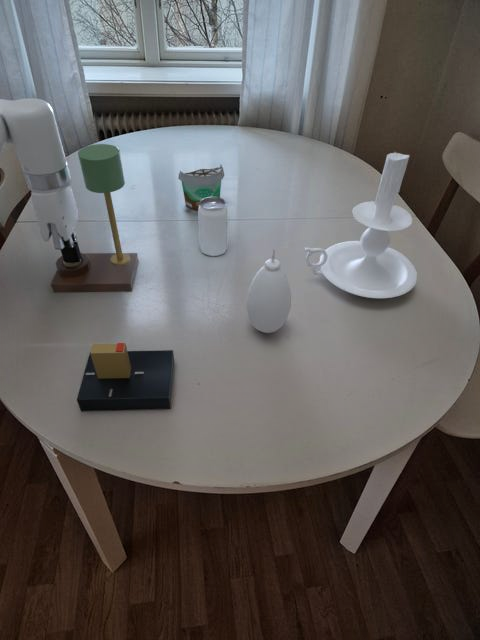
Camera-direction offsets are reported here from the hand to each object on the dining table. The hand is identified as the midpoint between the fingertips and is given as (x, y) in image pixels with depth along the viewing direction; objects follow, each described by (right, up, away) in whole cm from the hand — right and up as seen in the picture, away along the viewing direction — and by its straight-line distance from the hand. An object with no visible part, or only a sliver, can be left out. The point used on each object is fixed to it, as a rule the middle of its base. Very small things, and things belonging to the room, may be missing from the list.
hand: (73, 260), depth 90 cm
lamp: (+10, 0, +1) cm, 10 cm away
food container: (+26, +18, +26) cm, 41 cm away
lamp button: (0, -1, +1) cm, 2 cm away
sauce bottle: (+40, -14, -7) cm, 43 cm away
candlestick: (+60, -4, +5) cm, 60 cm away
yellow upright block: (+15, -21, -20) cm, 33 cm away
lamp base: (+4, -3, +3) cm, 6 cm away
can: (+29, +4, +12) cm, 31 cm away
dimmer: (+17, -23, -18) cm, 34 cm away
